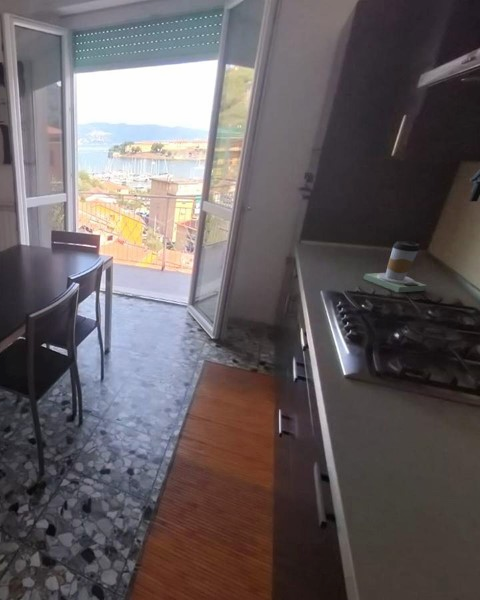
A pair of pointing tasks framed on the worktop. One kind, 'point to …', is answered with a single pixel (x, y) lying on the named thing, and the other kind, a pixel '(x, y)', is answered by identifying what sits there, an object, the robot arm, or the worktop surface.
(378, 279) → the kitchen scale
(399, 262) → the coffee cup
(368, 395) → the worktop surface
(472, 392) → the worktop surface
